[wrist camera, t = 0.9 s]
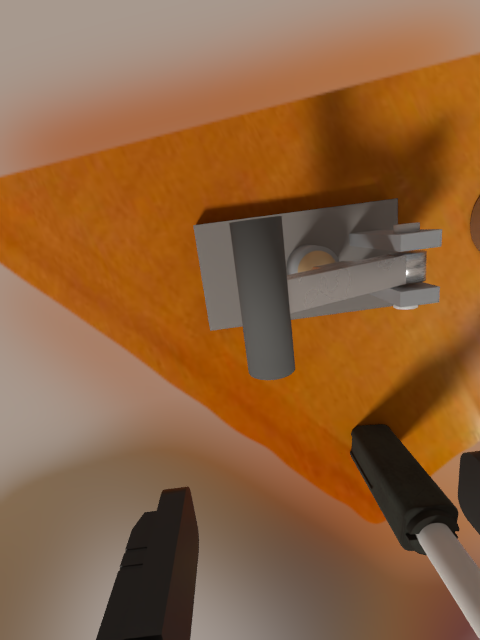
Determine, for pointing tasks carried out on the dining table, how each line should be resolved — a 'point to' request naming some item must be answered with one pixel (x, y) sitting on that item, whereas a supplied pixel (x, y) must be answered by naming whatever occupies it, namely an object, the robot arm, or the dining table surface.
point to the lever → (299, 289)
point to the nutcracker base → (293, 235)
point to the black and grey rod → (417, 512)
